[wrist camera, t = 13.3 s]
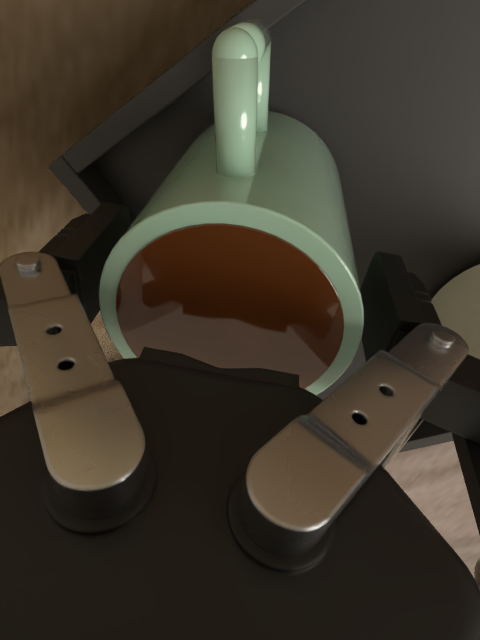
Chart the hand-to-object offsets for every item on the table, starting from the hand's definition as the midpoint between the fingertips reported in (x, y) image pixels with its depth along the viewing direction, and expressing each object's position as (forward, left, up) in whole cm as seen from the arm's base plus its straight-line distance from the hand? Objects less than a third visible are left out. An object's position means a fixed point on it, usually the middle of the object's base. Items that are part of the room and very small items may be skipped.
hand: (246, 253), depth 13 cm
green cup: (+1, +1, -4) cm, 4 cm away
